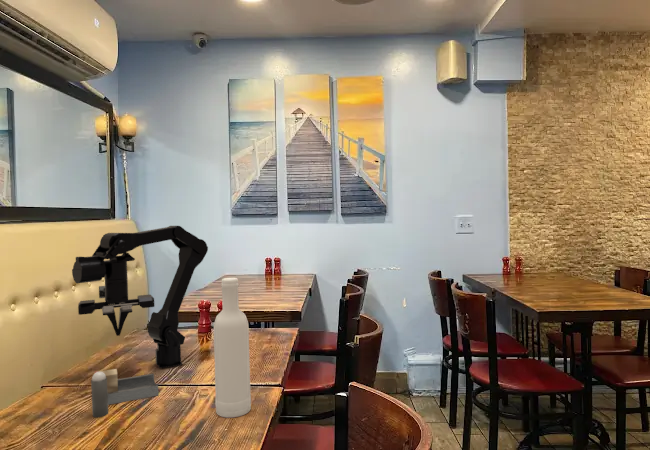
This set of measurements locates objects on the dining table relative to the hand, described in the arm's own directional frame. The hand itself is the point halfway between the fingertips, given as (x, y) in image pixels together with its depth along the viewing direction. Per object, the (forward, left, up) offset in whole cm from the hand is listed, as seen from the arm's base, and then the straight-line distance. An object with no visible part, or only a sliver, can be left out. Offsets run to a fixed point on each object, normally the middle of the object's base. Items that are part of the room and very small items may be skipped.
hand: (118, 335), depth 128 cm
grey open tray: (-1, +13, -12) cm, 18 cm away
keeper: (+3, +13, -11) cm, 17 cm away
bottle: (-22, +36, -12) cm, 44 cm away
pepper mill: (+5, +23, -12) cm, 26 cm away
